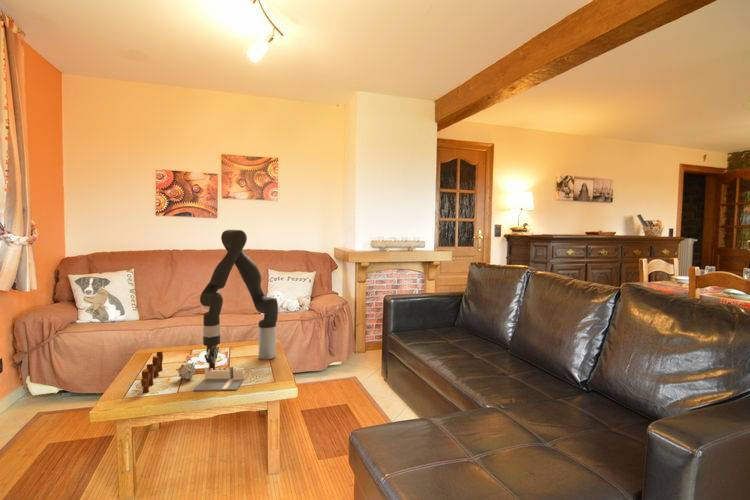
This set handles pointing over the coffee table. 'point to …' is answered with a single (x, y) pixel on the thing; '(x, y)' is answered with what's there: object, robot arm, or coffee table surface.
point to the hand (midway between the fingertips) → (212, 370)
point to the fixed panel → (238, 373)
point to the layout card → (218, 384)
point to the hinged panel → (219, 373)
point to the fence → (151, 372)
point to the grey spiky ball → (186, 371)
